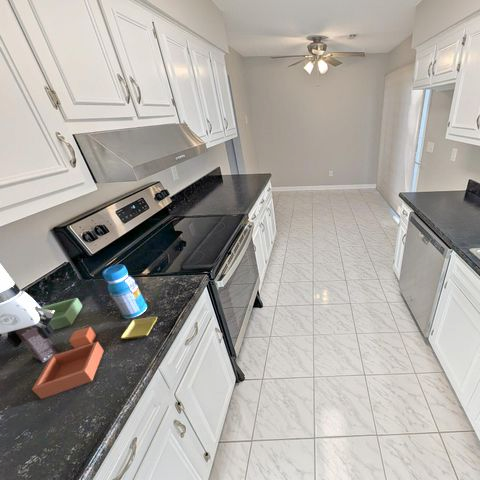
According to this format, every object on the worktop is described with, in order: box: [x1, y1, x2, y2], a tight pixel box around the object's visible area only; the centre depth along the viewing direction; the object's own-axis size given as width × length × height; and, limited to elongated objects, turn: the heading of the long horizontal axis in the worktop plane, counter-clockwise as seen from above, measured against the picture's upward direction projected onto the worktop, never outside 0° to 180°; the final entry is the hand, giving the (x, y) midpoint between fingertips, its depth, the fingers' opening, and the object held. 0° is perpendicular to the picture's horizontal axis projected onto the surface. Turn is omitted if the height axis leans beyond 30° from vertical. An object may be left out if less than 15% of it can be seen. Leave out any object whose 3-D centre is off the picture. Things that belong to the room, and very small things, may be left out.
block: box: [68, 326, 97, 349], centre depth 85 cm, size 4×4×4 cm
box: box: [14, 325, 59, 363], centre depth 80 cm, size 6×4×12 cm
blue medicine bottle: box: [101, 263, 148, 319], centre depth 94 cm, size 8×8×20 cm
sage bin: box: [40, 297, 83, 331], centre depth 96 cm, size 12×12×5 cm
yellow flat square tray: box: [120, 316, 158, 340], centre depth 89 cm, size 9×9×2 cm
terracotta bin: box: [31, 341, 105, 400], centre depth 75 cm, size 12×12×5 cm
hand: (34, 339), depth 80 cm, fingers closed on box, 6 cm apart
